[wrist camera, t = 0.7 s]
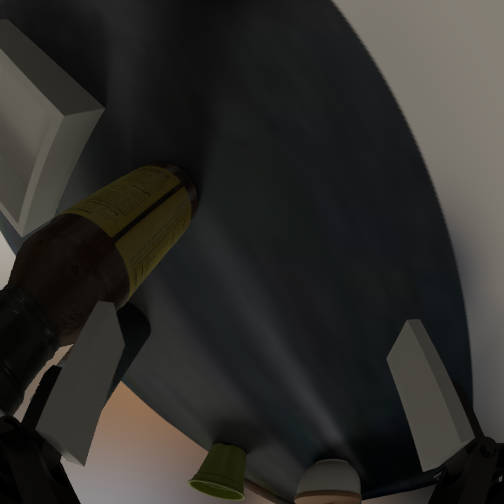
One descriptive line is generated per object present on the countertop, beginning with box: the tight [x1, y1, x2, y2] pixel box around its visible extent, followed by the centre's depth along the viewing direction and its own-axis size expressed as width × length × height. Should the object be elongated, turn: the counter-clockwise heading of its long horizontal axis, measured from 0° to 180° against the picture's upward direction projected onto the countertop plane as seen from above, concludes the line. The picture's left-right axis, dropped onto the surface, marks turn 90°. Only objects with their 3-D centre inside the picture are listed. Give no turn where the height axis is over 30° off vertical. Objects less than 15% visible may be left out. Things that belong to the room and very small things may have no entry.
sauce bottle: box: [0, 162, 198, 417], centre depth 15 cm, size 6×6×20 cm
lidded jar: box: [295, 459, 361, 504], centre depth 37 cm, size 11×11×9 cm
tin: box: [30, 302, 151, 409], centre depth 26 cm, size 6×6×15 cm
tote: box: [0, 19, 105, 237], centre depth 20 cm, size 22×14×5 cm, turn 47°
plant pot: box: [188, 443, 247, 500], centre depth 40 cm, size 9×9×9 cm
